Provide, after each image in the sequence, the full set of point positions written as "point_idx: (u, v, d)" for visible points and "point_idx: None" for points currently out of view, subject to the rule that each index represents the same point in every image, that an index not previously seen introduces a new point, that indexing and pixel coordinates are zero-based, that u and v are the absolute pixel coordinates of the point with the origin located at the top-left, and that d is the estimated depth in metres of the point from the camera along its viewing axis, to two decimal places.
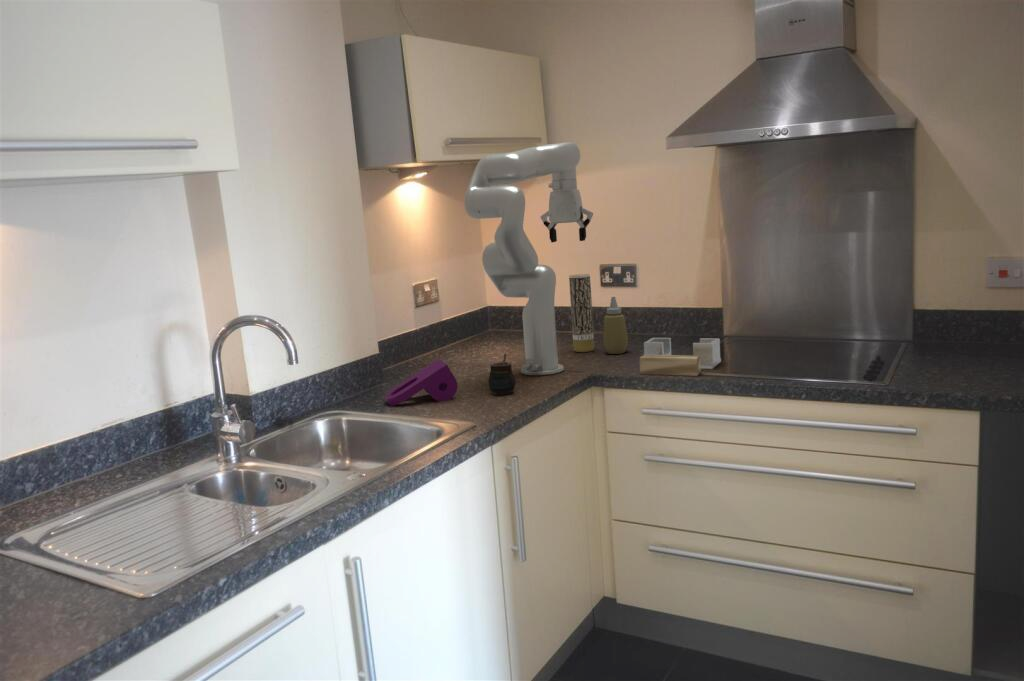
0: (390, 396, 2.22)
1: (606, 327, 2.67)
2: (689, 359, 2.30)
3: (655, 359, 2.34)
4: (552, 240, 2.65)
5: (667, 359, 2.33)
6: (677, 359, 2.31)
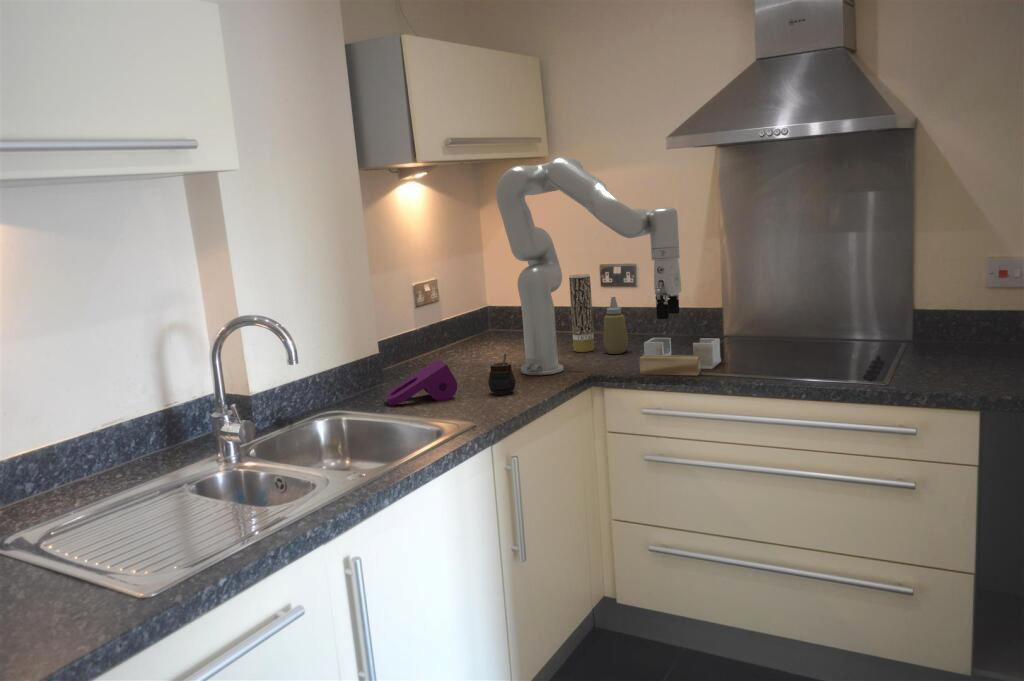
0: (390, 396, 2.22)
1: (606, 327, 2.67)
2: (690, 359, 2.30)
3: (655, 359, 2.34)
4: None
5: (667, 359, 2.33)
6: (677, 359, 2.31)
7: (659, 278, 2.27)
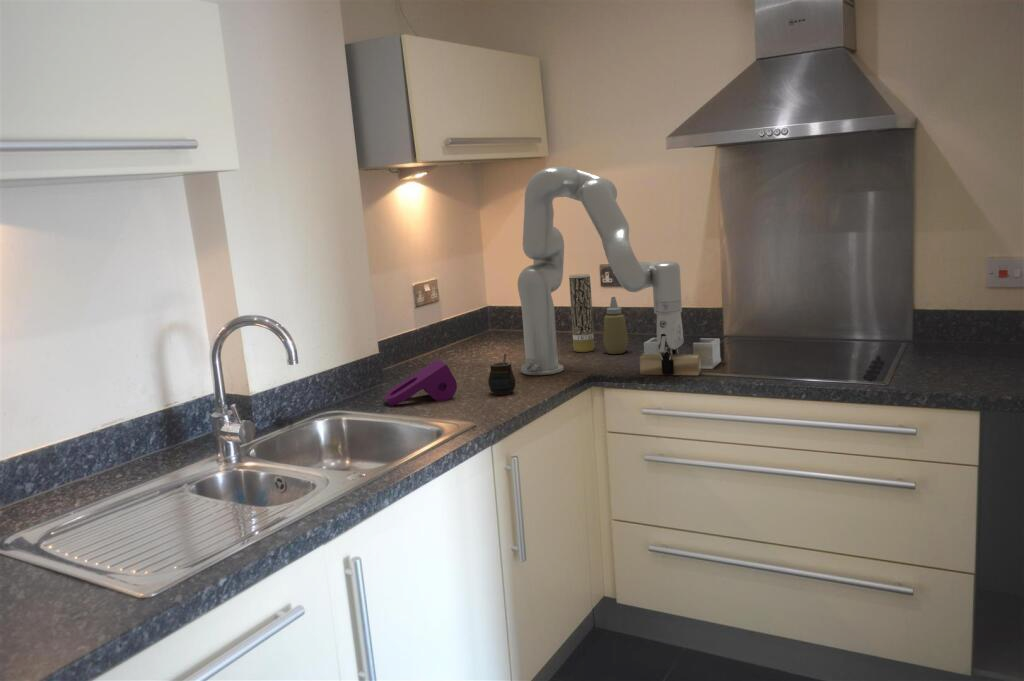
0: (389, 396, 2.22)
1: (606, 327, 2.67)
2: (690, 358, 2.30)
3: (655, 358, 2.34)
4: None
5: None
6: (678, 358, 2.31)
7: (662, 332, 2.29)
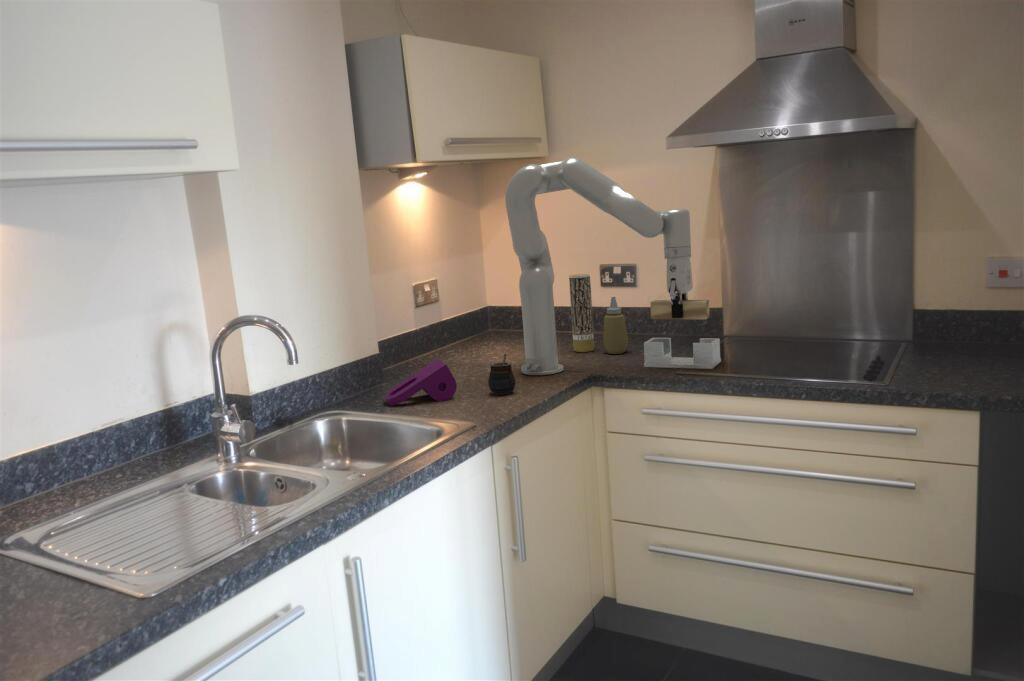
0: (389, 396, 2.22)
1: (606, 327, 2.67)
2: (698, 302, 2.38)
3: (665, 303, 2.42)
4: None
5: None
6: (687, 303, 2.39)
7: (671, 276, 2.37)
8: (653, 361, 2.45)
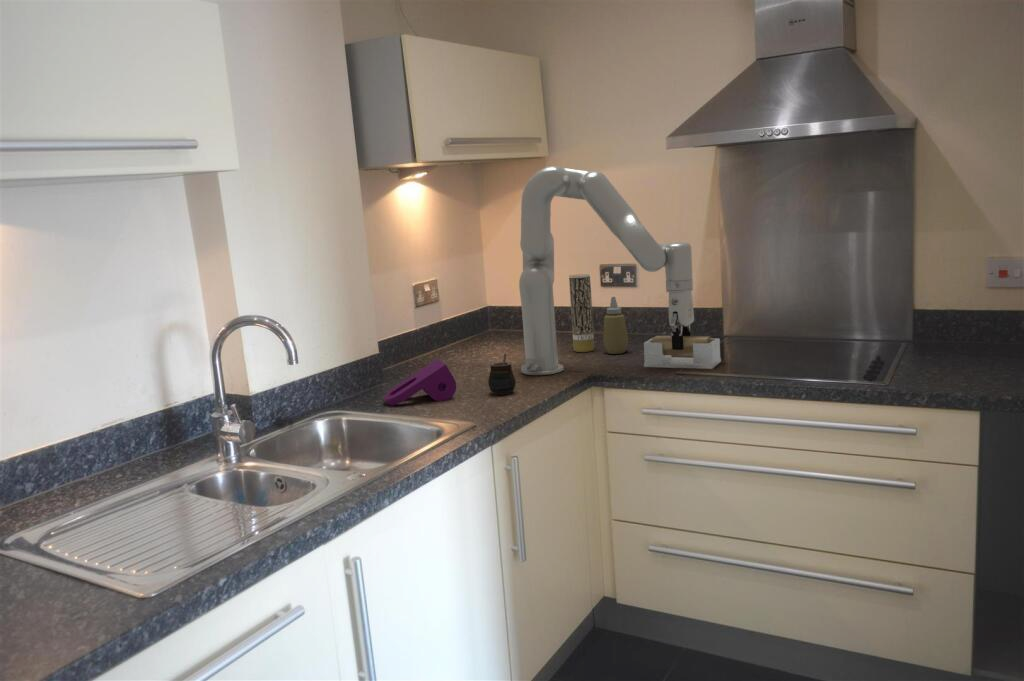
0: (389, 396, 2.22)
1: (606, 327, 2.67)
2: (699, 339, 2.40)
3: (667, 339, 2.44)
4: None
5: None
6: (688, 339, 2.41)
7: (673, 309, 2.39)
8: (653, 361, 2.45)
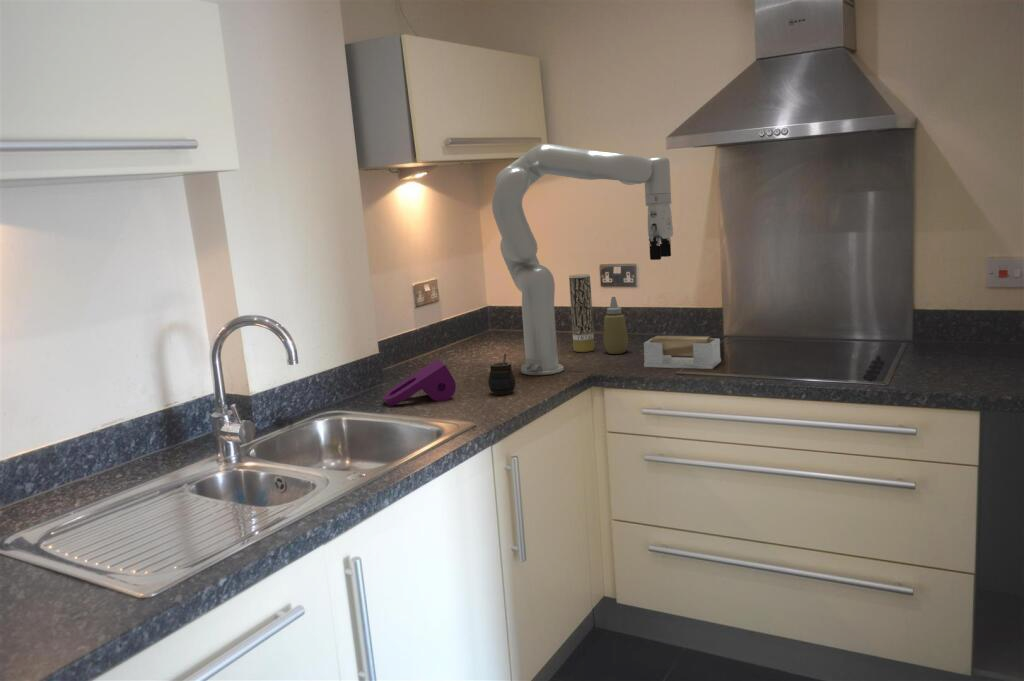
0: (388, 396, 2.22)
1: (606, 327, 2.67)
2: (699, 339, 2.40)
3: (667, 339, 2.44)
4: None
5: (678, 339, 2.43)
6: (688, 339, 2.41)
7: (652, 222, 2.46)
8: (653, 361, 2.45)
